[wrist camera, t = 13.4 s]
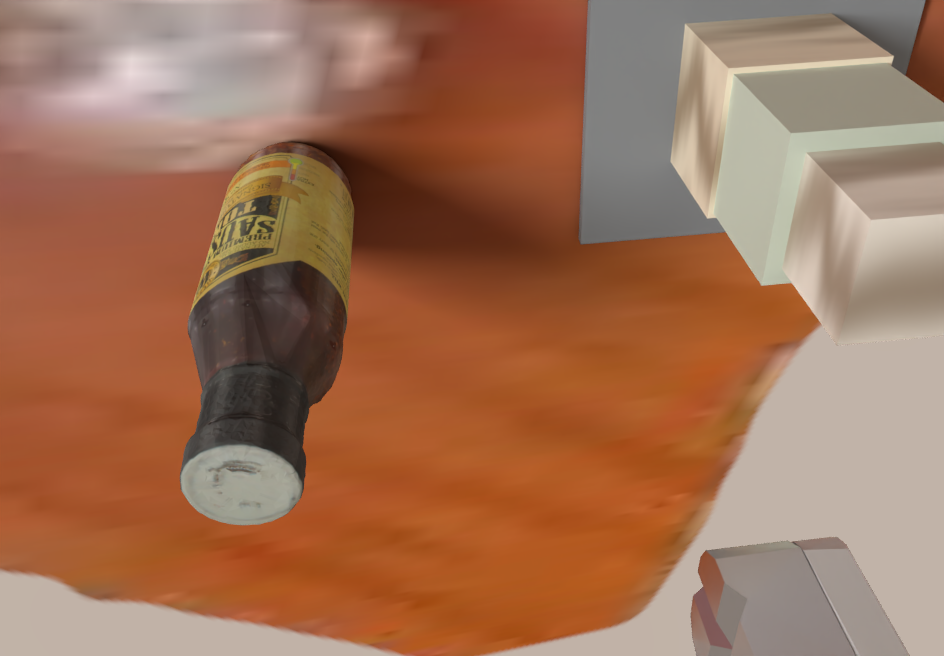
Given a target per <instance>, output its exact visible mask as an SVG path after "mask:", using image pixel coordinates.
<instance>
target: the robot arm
mask: <svg viewBox="0 0 944 656" xmlns="http://www.w3.org/2000/svg"><path fill="white" fill-rule="evenodd" d="M698 573H699V576H700V579H701V581H702V584H703V587H702V588H701V589H700V590H699V591H698V592H697V593H696V594H695V595H694V596H693V600H692V608H691V627H692V638H693V643H694V647H695V651H696V656H910V655H909V653H908V652H907V650H906V648H905V646H904V645H903V643H902V641H901V639H900V638H899V636H898V634H897V633H896V631H895V629H894V627H893V625H892V624H891V622H890V620H889V618H888V617H887V615H886V613H885V611H884V610H883V608H882V606H881V604H880V603H879V601H878V599H877V597H876V596H875V594H874V592H873V590H872V589H871V587H870V585H869V583H868V582H867V580H866V578H865V576H864V575H863V573H862V571H861V570H860V568H859V566H858V564H857V562H856V561H855V559H854V557H853V555H852V554H851V552H850V550H849V548H848V547H847V545H846V544H845V543H844V542H843V541H841V540H840V539H839V538H838V537H827V538H819V539H811V540H802V541H794V542H789V541H781V542H773V543H764V544H757V545H748V546H739V547H730V548H722V549H715V550H706V551H705V552H704V553H703V555H702V556H701V558H700V563H699V567H698Z"/></svg>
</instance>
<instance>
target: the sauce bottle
mask: <svg viewBox="0 0 944 656" xmlns="http://www.w3.org/2000/svg"><path fill="white" fill-rule="evenodd" d="M353 222H354V206H353V202H352V199H351V187H350V184H349V180H348V178H347V177H346V176H345V174H344V172H343V171H342V169H341V168H340V167H339V166H338V164H337V163H336V162H335V161H334V160H333V158H331V157H329V156H328V155H327V154H325V153H324V152H323V151H321V150H319V149H317V148H315V147H312V146H309V145H306V144H303V143H294V142H291V143H289V142H282V143H277V144H274V145H271V146H268V147H266V148H264V149H261V150H259V151H257V152H256V153H255V154H252V155H251V156H250V157H249V158H248V159H247V160H246V161H245V162H244V163H243V164H242V165H241V166H240V168H239V170H238V172H237V173H236V175H235V176H234V177H233V179H232V181H231V183H230V184H229V186H228V189H227V193H226V196H225V199H224V202H223V206H222V209H221V212H220V215H219V219H218V222H217V225H216V229H215V232H214V236H213V239H212V242H211V246H210V249H209V252H208V255H207V259H206V262H205V265H204V267H203V271H202V276H201V279H200V282H199V286H198V289H197V292H196V295H195V298H194V302H193V305H192V309H191V312H190V316H189V320H188V334H189V337H190V339H191V343H192V347H193V352H194V356H195V360H196V365H197V369H198V373H199V378H200V382H201V386H202V390H203V391H202V394H201V412H200V415H199V419H198V422H197V428H196V432H195V434H194V435H193V436H192V437H191V438H190V440H189V441H188V442H187V445H186V447H185V451H184V458H183V462H182V468H181V472H180V483H181V490H182V492H183V494H184V495H185V497H186V499H187V500H188V501H189V503H190V504H191V505H192V506H193V507H194V508H195V509H196V510H197V511H198V512H200V513H202V514H204V515H205V516H207V517H209V518H211V519H214V520H217V521H219V522H223V523H228V524H236V525H251V524H262V523H266V522H271V521H273V520H276V519H278V518H280V517H282V516H284V515H286V514H287V513H288V512H289V511H290V510H291V509H292V508H293V507H294V506H295V505H296V503H297V502H298V501H299V499H300V498H301V496H302V493H303V489H304V478H305V468H306V456H305V453H304V450H303V448H302V446H303V439H304V437H303V435H304V429H305V423H306V421H307V418H308V414H309V408H310V407H311V406H312V405H313V404H315V403H318V402H319V401H321V399H322V398H323V396H324V395H325V394H326V393H327V392H328V391H329V389H330V388H331V387H332V384H333V383H334V380H335V378H336V375H337V372H338V370H339V367H340V364H341V360H342V352H343V338H344V333H345V330H346V325H347V315H348V299H349V284H350V269H351V254H352V239H353Z"/></svg>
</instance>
